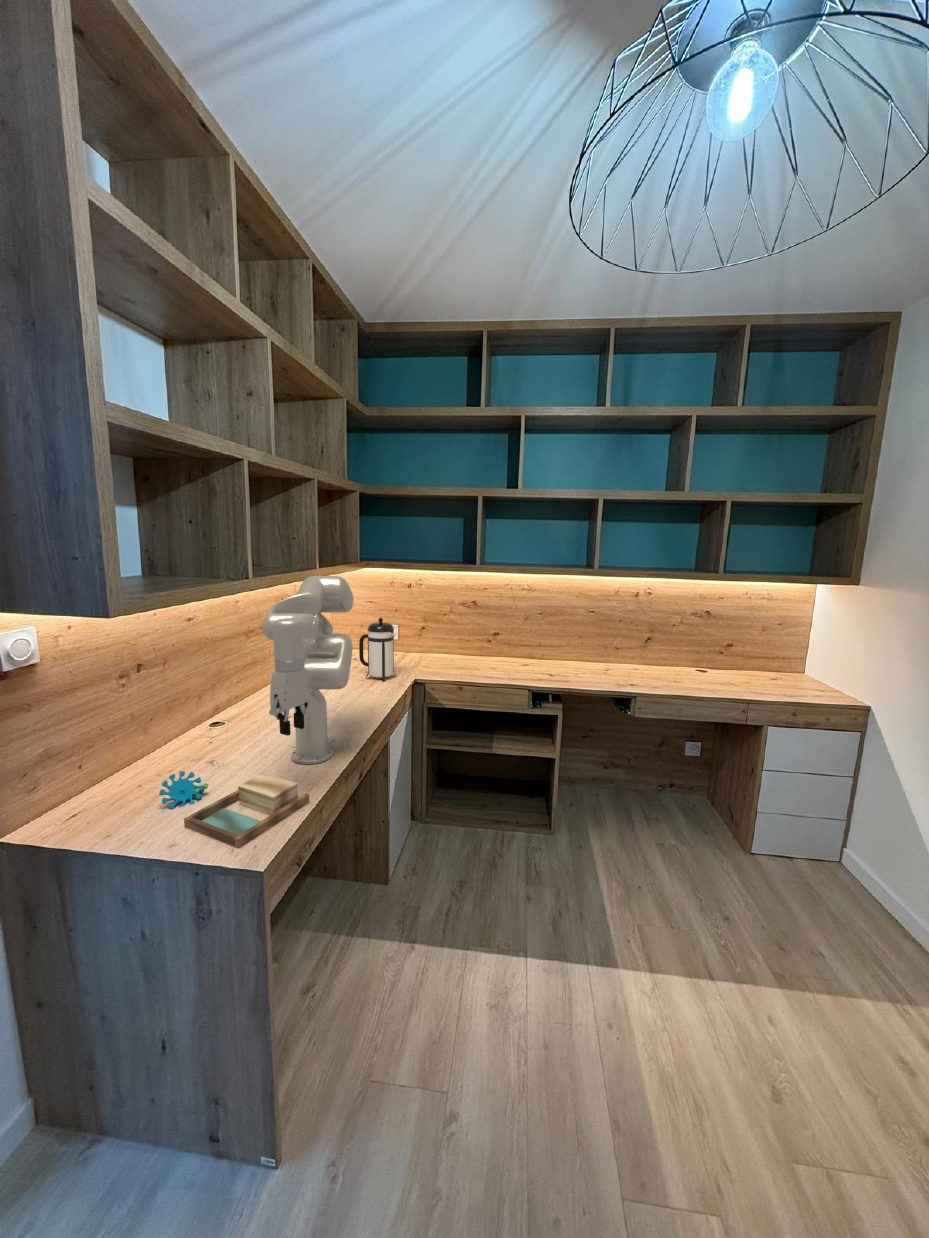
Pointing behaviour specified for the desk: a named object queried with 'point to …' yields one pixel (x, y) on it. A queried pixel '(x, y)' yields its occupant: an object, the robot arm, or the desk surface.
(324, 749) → the robot arm
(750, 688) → the desk surface
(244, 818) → the bay
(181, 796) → the blue spiky virus toy
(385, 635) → the coffee press
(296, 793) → the cream hardcover book
